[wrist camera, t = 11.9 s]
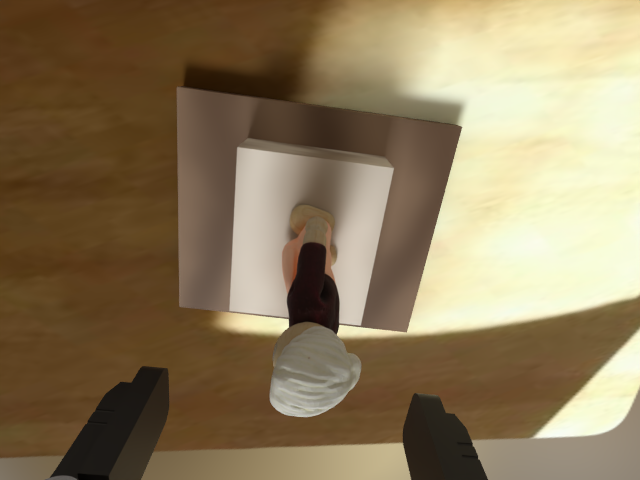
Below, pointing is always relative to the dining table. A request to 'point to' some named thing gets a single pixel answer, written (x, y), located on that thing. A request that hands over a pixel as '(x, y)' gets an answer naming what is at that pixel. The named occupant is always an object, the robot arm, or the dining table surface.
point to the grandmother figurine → (311, 323)
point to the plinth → (315, 127)
